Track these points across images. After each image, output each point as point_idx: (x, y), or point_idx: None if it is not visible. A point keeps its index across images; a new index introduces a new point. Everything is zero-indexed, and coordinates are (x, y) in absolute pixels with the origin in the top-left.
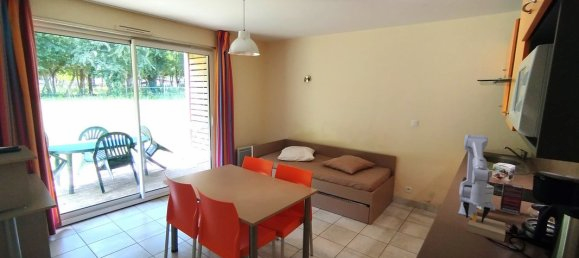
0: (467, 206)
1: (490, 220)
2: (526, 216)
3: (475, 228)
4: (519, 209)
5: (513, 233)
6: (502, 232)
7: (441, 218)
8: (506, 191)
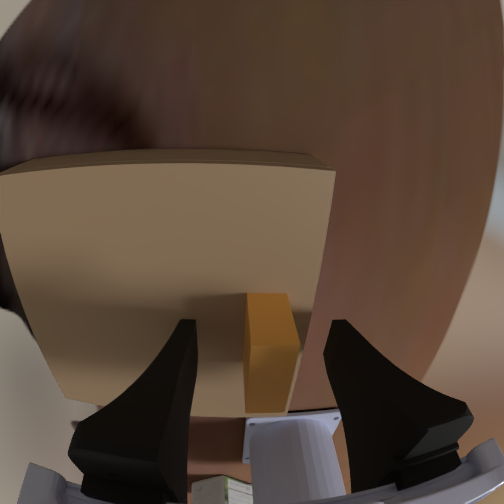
0: (426, 420)
1: None
2: None
3: (244, 159)
4: None
5: None
6: (9, 209)
7: (462, 274)
8: None
